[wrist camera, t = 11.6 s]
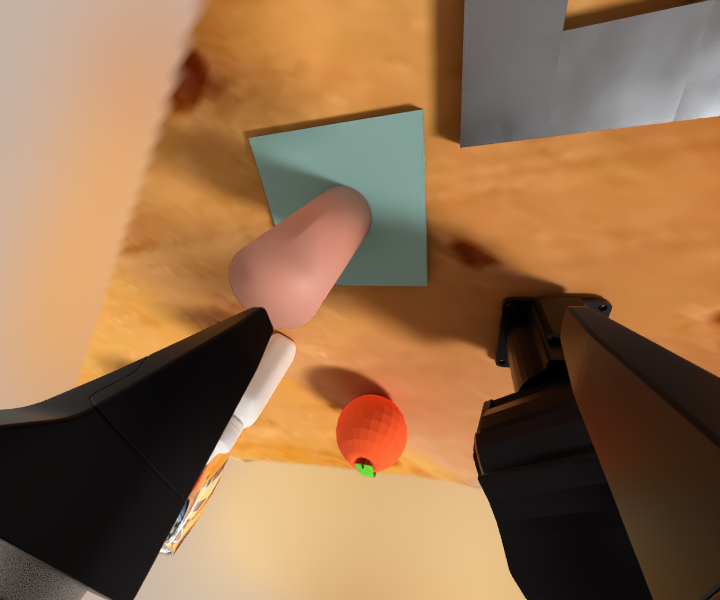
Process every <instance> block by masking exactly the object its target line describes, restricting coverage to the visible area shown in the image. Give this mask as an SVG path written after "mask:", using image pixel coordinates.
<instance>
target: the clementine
mask: <svg viewBox="0 0 720 600" xmlns="http://www.w3.org/2000/svg"><path fill="white" fill-rule="evenodd" d="M336 437H337V443H338V446H339V449H340V451H341V453H342V455H343V456H344V458H345V459H346V460H347V461H348V462H349V463H350V464H351V465H352V466H353V467H355V468H357V470H358V471H359V473H360V474H362V475H363V476H368V477H375V475H376V472H378V471H381V470H384V469H387V468H389V467H390V466H391V465H392V464H394V463H395V462H396V461H397V460H398V459H399V457H400V456H401V454H402V452H403V451H404V448H405V445H406V441H407V426H406V423H405V420H404V417H403V415H402V413H401V411H400V410H399V409H398V407H397V406H396V405H395V404H394V403H393V402H392V401H390V400H389V399H387V398H385V397H382V396H379V395H373V394H368V395H362V396H360V397H357V398H355V399H354V400H352V401H351V402H350V403H349V404H348V405H347V406H346V407H345V408H344V409H343V410H342V412H341V414H340V416H339V419H338V423H337V428H336Z"/></svg>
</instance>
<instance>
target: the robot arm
mask: <svg viewBox="0 0 720 600" xmlns="http://www.w3.org/2000/svg"><path fill="white" fill-rule="evenodd" d="M509 303H512V304H513V305H512V306H507V304H509ZM601 305H605V306H604V307H602V308H598V307H599V306H601ZM611 309H612V305H611V304H610V302H609V301H608V300H606V299H592V298H580V297H537V298H522V297H509V298H506V299H504V300H503V302H502V307H501V315H500V323H499V330H498V338H497V346H496V354H495V363H496V365H497V366H500V367H510V370H511V375H512V380H513V385H514V390H515V393H513V394H510V395H507V396H505V397H502V398H499V399H496V400H492V399H491V400H489V401H486V402H484V405H483V409H482V413H481V417H480V421H479V425H478V429H477V432H476V433H475V437H474V448H473V451H474V453H473V458H474V461H475V465H476V469H477V472H478V480H479V483H480V485H481V487H482V489H483V491H484V493H485V495H486V497H487V499H488V501H489V503H490V506H491V508H492V511H493V514H494V516H495V519H496V521H497V525H498V528H499V532H500V535H501V539H502V543H503V547H504V551H505V555H506V559H507V563H508V567H509V570H510V573H511V575H512V577H513V578H514V580H515V582H516V583H517V585H518V587H519V588H520V590H521V591H522V593H523V594H524V596H525V598H526V599H527V600H720V378H719V377H717V376H716V375H714V374H712V373H710V372H708V371H706V370H704V369H703V368H701V367H699V366H697V365H695V364H693V363H691V362H690V361H688V360H686V359H684V358H682V357H680V356H678V355H677V354H675V353H673V352H671V351H669V350H667V349H665V348H664V347H662V346H660V345H658V344H656V343H654V342H652V341H650V340H649V339H647V338H645V337H643V336H641V335H639V334H637V333H636V332H634V331H632V330H630V329H628V328H626V327H624V326H623V325H621V324H619V323H617V322H615V321H613V320H611V319H610V318H608V317H609V315H610V312H611ZM272 333H273V326H272V323H271V321H270V318H269V316H268V313H267V311H266V309H265V308H263V307H252V308H250V309H247V310H245V311H243V312H241V313H239V314H237V315H235V316H232V317H230V318H228V319H226V320H224V321H222V322H219V323H217V324H215V325H213V326H211V327H209V328H207V329H204V330H202V331H200V332H198V333H196V334H194V335H192V336H189V337H187V338H185V339H183V340H181V341H179V342H176V343H174V344H172V345H170V346H168V347H166V348H164V349H161V350H159V351H157V352H155V353H153V354H151V355H149V356H146V357H144V358H142V359H140V360H138V361H136V362H133V363H131V364H129V365H127V366H125V367H122V368H120V369H118V370H116V371H113V372H111V373H109V374H106V375H104V376H102V377H100V378H97V379H95V380H93V381H90V382H88V383H85V384H83V385H81V386H78V387H76V388H74V389H71V390H69V391H66V392H64V393H62V394H60V395H57V396H55V397H52V398H50V399H48V400H45V401H42V402H40V403H36V404H33V405H30V406H26V407H21V408H15V409H5V410H0V600H81V599H82V597H83V596H84V594H85V593H86V592H87V591H89V592H91V593H94V594H96V595H98V596H100V597H103V598H105V599H107V600H134V598H135V596H136V595H137V593H138V591H139V589H140V587H141V586H142V584H143V582H144V580H145V578H146V576H147V574H148V572H149V571H150V569H151V567H152V565H153V563H154V561H155V559H156V557H157V556H158V554H159V552H160V550H161V548H162V546H163V545H164V543H165V541H166V539H167V537H168V535H169V533H170V531H171V530H172V528H173V526H174V524H175V522H176V520H177V518H178V517H179V515H180V513H181V511H182V509H183V507H184V505H185V502H186V501H187V499H188V497H189V496H190V494H191V492H192V490H193V488H194V486H195V484H196V483H197V481H198V479H199V477H200V475H201V473H202V471H203V470H204V468H205V466H206V464H207V462H208V460H209V458H210V457H211V455H212V453H213V451H214V449H215V447H216V445H217V443H218V442H219V440H220V438H221V436H222V434H223V432H224V430H225V429H226V427H227V425H228V423H229V421H230V419H231V417H232V416H233V414H234V412H235V410H236V408H237V406H238V404H239V403H240V401H241V399H242V397H243V395H244V393H245V391H246V390H247V388H248V386H249V384H250V382H251V380H252V378H253V376H254V375H255V373H256V371H257V369H258V366H259V364H260V362H261V359H262V357H263V355H264V352H265V350H266V347H267V345H268V343H269V340H270V338H271V335H272ZM500 360H504V361H500Z"/></svg>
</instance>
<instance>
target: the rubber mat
mask: <svg viewBox="0 0 720 600" xmlns="http://www.w3.org/2000/svg"><path fill="white" fill-rule="evenodd" d="M249 142H250V145H251V148H252V152H253V155H254V158H255V161H256V165H257V168H258V171H259V175H260V178H261V181H262V185H263V188H264V191H265V194H266V198H267V201H268V204H269V208H270V211H271V214H272V217H273V221H274V224H275V226H276V225H277V224H279V223H280V222H282V221H283V220H284V219H286V218H287V217H289V216H290V215H292V214H293V213H295V212H296V211H297V210H299V209H300V208H302V207H303V206H305V205H306V204H308V203H309V202H310V201H312V200H313V199H315V198H316V197H318V196H319V195H321V194H322V193H323V192H325V191H326V190H328V189H330V188H332V187H334V186H348V187H351V188H354V189H355V190H357V191H359V192H360V193H361V194H362V195H363V196H364V197H365V198H366V200H367V201H368V203H369V205H370V208H371V211H372V224H371V228H370V230H369V232H368V233H367V235H366V236H365V238H364V239H363V241H362V243H361V244H360V246H359V247H358V249H357V250H356V252H355V253H354V255H353V256H352V258H351V259H350V261H349V262H348V264H347V266H346V267H345V269H344V270H343V272H342V273H341V275H340V276H339V278H338V279H337V281H336V282H335V284H334V285H333V286H427V284H428V266H427V228H426V191H425V154H424V116H423V109H421V110H415V111H409V112H402V113H396V114H390V115H384V116H378V117H372V118H366V119H360V120H354V121H348V122H342V123H336V124H330V125H323V126H317V127H311V128H305V129H299V130H293V131H287V132H281V133H275V134H269V135H263V136H257V137H251V138H249Z"/></svg>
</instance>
